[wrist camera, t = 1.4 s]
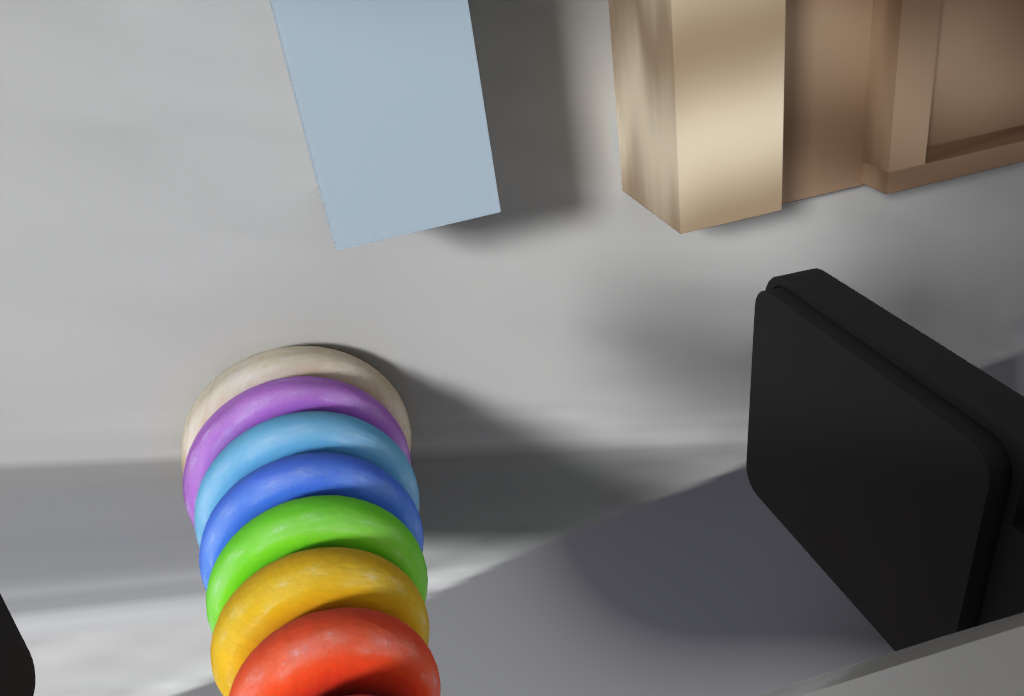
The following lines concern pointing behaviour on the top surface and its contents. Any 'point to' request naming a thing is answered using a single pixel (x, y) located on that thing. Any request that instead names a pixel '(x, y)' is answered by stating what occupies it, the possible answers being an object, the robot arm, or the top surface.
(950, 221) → the top surface
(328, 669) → the stacking toy
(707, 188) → the beige rectangular block
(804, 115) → the cradle jig
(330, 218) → the light blue rectangular block
